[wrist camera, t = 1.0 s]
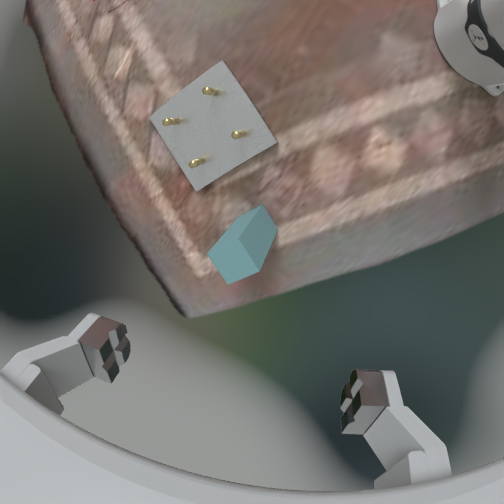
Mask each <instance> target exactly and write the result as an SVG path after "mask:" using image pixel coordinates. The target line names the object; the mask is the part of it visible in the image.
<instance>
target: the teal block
mask: <svg viewBox="0 0 504 504" xmlns="http://www.w3.org/2000/svg"><path fill="white" fill-rule="evenodd" d="M277 230H278V229H277V227H276V226H275V224H274V222H273V220H272V219H271V217H270V215H269V214H268V212H267V210H266V209H265V207H264V206H263V204H262V205H260V206H258V207H256V208H254V209H253V210H251V211H249V212H247V213H245V214H243V215H241V216H240V217H238V218H237V219H236V220H235V221H234V223H233V224H232V225H231V226H230V227H229V229H228V230H227V231H226V232H225V233H224V234H223V236H222V237H221V238H220V239H219V240H218V241H217V243H216V244H215V245H214V246H213V247H212V249H211V250H210V251H209V252H208V253H207V255H208V256H209V258H210V259H211V261H212V262H213V264H214V265H215V266H216V268H217V269H218V271H219V272H220V274H221V275H222V277H223V278H224V279H225V281H226V282H227V284H231V283H233V282H236V281H238V280H240V279H243V278H245V277H248V276H250V275H252V274H255V273H257V272H259V271H260V269H261V267H262V265H263V263H264V260H265V258H266V256H267V253H268V251H269V249H270V247H271V244H272V242H273V240H274V237H275V235H276V233H277Z"/></svg>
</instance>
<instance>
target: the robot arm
mask: <svg viewBox="0 0 504 504" xmlns="http://www.w3.org/2000/svg"><path fill="white" fill-rule="evenodd" d="M437 7H438V13H437V16H436V18H435V21H434V34H435V38H436V41H437V44H438V46H439V49H440V51H441V52H442V54H443V56H444V57H445V59H446V60H447V61H448V63H449V64H450V65H451V66H452V67H453V68H454V69H455V70H456V71H457V72H458V73H459V74H460V75H461V76H463V77H464V78H466V79H467V80H469V81H471V82H473V83H476V84H478V85H480V86H482V87H483V88H484V89H485V90H486V91H487V92H488V93H489V94H490V95H492V96H498V95H500V94H501V93H502V92H503V91H504V0H437ZM496 86H498V88H497V87H496ZM126 333H127V329H126V325H124V324H123V323H120V322H117V321H114V320H111V319H108V318H106V317H103V316H100V315H97V314H95V313H90V314H88V315H87V316H86V317H85V318H84V319H83V321H82V322H80V324H79V325H78V326H77V327H76V328H75V329H74V330H73V331H72V332H71V333H70V334H69V335H68V336H67V337H66V336H62V337H60V338H57V339H54V340H51V341H49V342H46V343H43V344H40V345H37V346H35V347H32V348H29V349H26V350H23V351H21V352H18V353H17V354H16V355H15V356H14V357H13V358H12V359H11V360H10V362H9V363H8V364H7V365H6V366H5V367H4V368H3V369H2V370H1V371H0V504H504V457H503V458H501V459H498V460H496V461H493V462H491V463H488V464H486V465H483V466H480V467H477V468H474V469H472V470H468V471H465V472H461V473H458V474H454V475H452V473H451V468H450V463H449V458H448V454H447V449H446V445H445V444H444V443H443V442H442V441H441V440H440V439H439V438H438V437H437V436H436V435H435V434H434V433H433V432H432V431H431V430H430V429H429V428H428V427H427V426H426V425H425V424H424V423H423V422H422V421H421V420H420V419H419V418H418V417H417V416H416V415H415V414H414V413H413V412H412V411H411V410H410V409H409V408H408V407H407V406H406V407H405V406H404V405H403V401H402V397H401V393H400V389H399V385H398V382H397V379H396V375H395V372H394V371H383V370H382V371H379V370H364V369H354V370H353V371H352V372H351V374H350V376H349V377H350V381H349V382H347V383H346V384H345V385H344V387H343V389H342V393H341V397H340V408H341V410H343V412H344V414H343V416H342V417H341V432H342V433H344V434H364V435H363V436H364V437H365V439H366V440H367V442H368V443H369V445H370V446H371V448H372V449H373V451H374V452H375V454H376V455H377V457H378V458H379V460H380V461H381V462H382V464H383V466H384V467H385V469H386V470H387V471H386V472H385V473H384V474H383V475H381V476H380V477H378V478H377V479H376V480H375V481H374V485H375V489H371V490H357V491H301V490H287V489H276V488H267V487H260V486H252V485H246V484H241V483H235V482H230V481H225V480H220V479H216V478H211V477H207V476H203V475H199V474H195V473H192V472H188V471H185V470H181V469H178V468H175V467H172V466H169V465H166V464H163V463H159V462H156V461H154V460H151V459H148V458H146V457H143V456H141V455H138V454H136V453H133V452H131V451H128V450H126V449H124V448H121V447H119V446H117V445H115V444H112V443H110V442H108V441H106V440H104V439H102V438H100V437H98V436H96V435H94V434H92V433H90V432H88V431H86V430H84V429H82V428H80V427H79V426H77V425H75V424H73V423H72V422H70V421H68V420H66V419H65V418H63V417H61V416H60V415H61V413H62V412H63V410H64V407H63V405H62V404H61V402H60V400H59V399H58V397H60V396H62V395H63V394H65V393H67V392H69V391H70V390H72V389H74V388H76V387H78V386H79V385H81V384H83V383H85V382H86V381H88V380H90V379H92V378H93V376H94V377H97V378H99V379H102V380H104V381H107V382H109V383H112V382H113V381H114V379H115V377H116V376H117V374H118V373H119V366H120V365H122V364H124V363H125V362H126V361H127V359H128V357H129V354H130V341H129V340H128V338H127V337H126V336H125V334H126Z"/></svg>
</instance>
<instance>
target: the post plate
mask: <svg viewBox="0 0 504 504" xmlns="http://www.w3.org/2000/svg"><path fill="white" fill-rule="evenodd" d="M149 118H150V119H151V121H152V123H153V124H154V126H155V127H156V129H157V131H158V132H159V134H160V135H161V137H162V139H163V140H164V142H165V143H166V145H167V147H168V148H169V150H170V151H171V153H172V154H173V156H174V158H175V159H176V161H177V162H178V164H179V166H180V167H181V169H182V170H183V172H184V173H185V175H186V177H187V178H188V180H189V181H190V183H191V184H192V186H193V188H194V189H195V191H196V192H197V191H199V190H200V189H202V188H203V187H205V186H206V185H208V184H209V183H211V182H213V181H214V180H216V179H217V178H219V177H220V176H222V175H224V174H225V173H227V172H228V171H230V170H232V169H233V168H235V167H237V166H238V165H240V164H242V163H243V162H245V161H247V160H248V159H250V158H252V157H253V156H255V155H257V154H258V153H260V152H262V151H264V150H265V149H267V148H269V147H271V146H272V145H274V144H276V143H278V141H277V139H276V137H275V136H274V134H273V132H272V131H271V129H270V128H269V126H268V125H267V123H266V121H265V120H264V118H263V117H262V115H261V114H260V112H259V111H258V109H257V107H256V106H255V104H254V103H253V101H252V100H251V98H250V97H249V95H248V94H247V92H246V91H245V89H244V88H243V87H242V85H241V84H240V82H239V81H238V79H237V78H236V76H235V75H234V74H233V72H232V71H231V69H230V68H229V67H228V65H227V64H226V62H225V61H223V60H222V61H221V62H219V63H218V64H216V65H215V66H213V67H212V68H211V69H209V70H208V71H206V72H205V73H204V74H202V75H201V76H200V77H198V78H197V79H196V80H194V81H193V82H192V83H190V84H189V85H188V86H186V87H185V88H184V89H183V90H181V91H180V92H179V93H178V94H176V95H175V96H174V97H173V98H171V99H170V100H169V101H168V102H167V103H165V104H164V105H163V106H162V107H161V108H160V109H159V110H157V111H156V112H155V113H154V114H153V115H152V116H151V117H149Z"/></svg>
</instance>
